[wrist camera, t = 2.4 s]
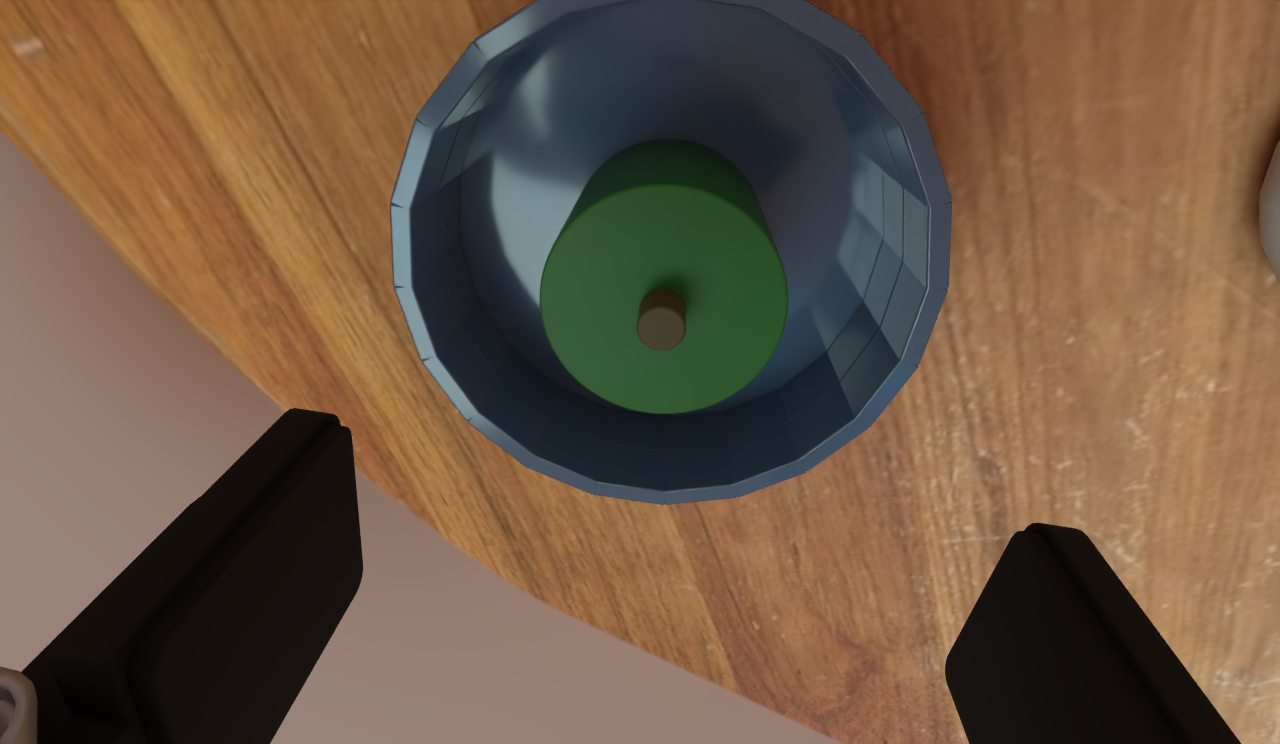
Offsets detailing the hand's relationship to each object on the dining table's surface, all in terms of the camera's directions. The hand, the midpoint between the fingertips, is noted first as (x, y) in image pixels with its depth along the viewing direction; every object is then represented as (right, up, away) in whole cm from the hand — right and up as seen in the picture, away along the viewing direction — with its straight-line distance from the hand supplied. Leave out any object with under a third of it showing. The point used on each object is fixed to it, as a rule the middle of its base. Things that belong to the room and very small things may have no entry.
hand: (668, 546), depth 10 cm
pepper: (0, +7, +13) cm, 15 cm away
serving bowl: (+1, +7, +13) cm, 15 cm away
